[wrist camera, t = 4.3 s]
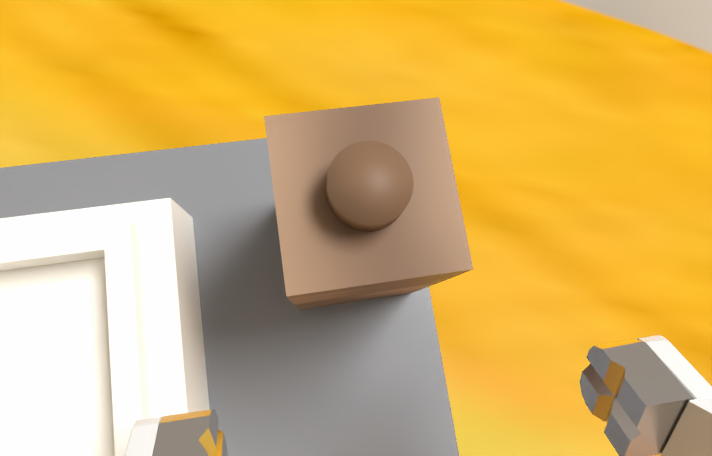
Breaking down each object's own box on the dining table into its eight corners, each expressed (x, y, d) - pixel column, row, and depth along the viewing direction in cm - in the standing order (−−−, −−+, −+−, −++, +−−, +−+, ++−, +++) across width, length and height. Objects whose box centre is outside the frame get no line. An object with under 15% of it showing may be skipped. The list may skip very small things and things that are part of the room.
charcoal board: (-93, 627, 17) (-118, 645, 16) (-82, 186, 20) (-103, 179, 19) (463, 516, 19) (471, 526, 18) (395, 132, 22) (399, 123, 21)
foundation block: (-83, 539, 17) (-215, 608, 12) (-77, 251, 18) (-190, 229, 14) (216, 484, 18) (185, 531, 14) (192, 217, 19) (159, 187, 15)
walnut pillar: (299, 309, 19) (284, 294, 10) (285, 199, 20) (260, 101, 11) (411, 293, 20) (484, 264, 11) (392, 186, 20) (447, 82, 12)
